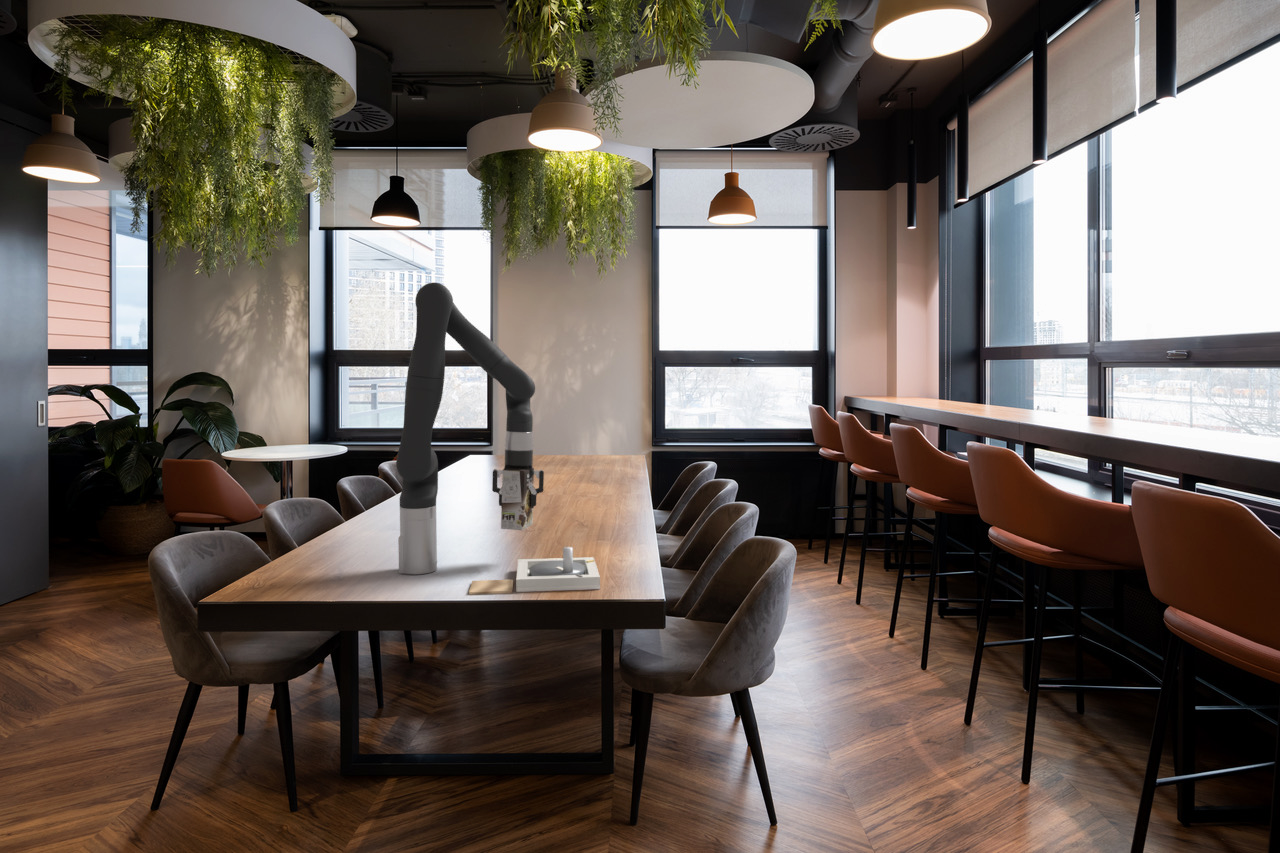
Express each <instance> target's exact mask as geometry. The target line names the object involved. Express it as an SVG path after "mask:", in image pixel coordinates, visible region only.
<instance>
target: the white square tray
mask: <svg viewBox="0 0 1280 853" xmlns="http://www.w3.org/2000/svg"><path fill="white" fill-rule="evenodd" d="M595 560H596V559H595V557H593V556H590V557H587V556H586V557H585V556H584V557H573V562H576V563H580V564H582V565H584V566H585V575H579V574H576V575H558V576H530V575H529V568H530V567H531V566H532V565H534V564H537V563H542V562H549V561H563V557H560V558H559V557H557V558H555V557H553V558H522V559H521V558H520V559H519V558H518V559H517V569H516V579H515V580H516V584H515V586H516V591H515V592H516V593H522V592H523V593H525V592H527V593H528V592H551V591H552V592H553V591H579V590H580V591H582V590H583V591H584V590H585V591H586V590H600V589H601V576H600V573H599V572H600V571H599V570H598V566H597V562H596V561H595Z"/></svg>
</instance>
